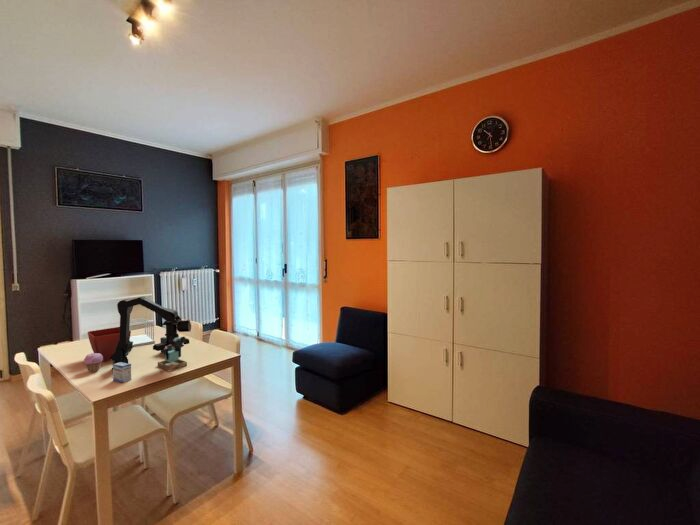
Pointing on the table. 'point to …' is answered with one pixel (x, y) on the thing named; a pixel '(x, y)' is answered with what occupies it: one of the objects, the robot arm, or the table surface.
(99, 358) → the cupcake
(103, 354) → the plant pot
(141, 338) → the file sorter
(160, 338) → the vhs cassette tape
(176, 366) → the tray
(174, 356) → the cube
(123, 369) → the medicine box
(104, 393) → the table surface
